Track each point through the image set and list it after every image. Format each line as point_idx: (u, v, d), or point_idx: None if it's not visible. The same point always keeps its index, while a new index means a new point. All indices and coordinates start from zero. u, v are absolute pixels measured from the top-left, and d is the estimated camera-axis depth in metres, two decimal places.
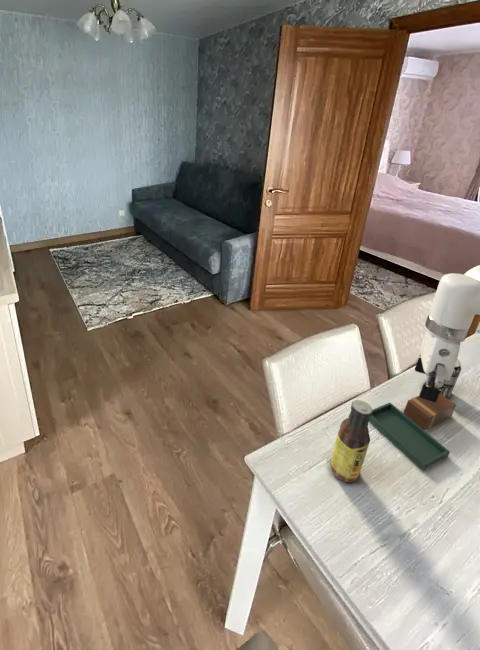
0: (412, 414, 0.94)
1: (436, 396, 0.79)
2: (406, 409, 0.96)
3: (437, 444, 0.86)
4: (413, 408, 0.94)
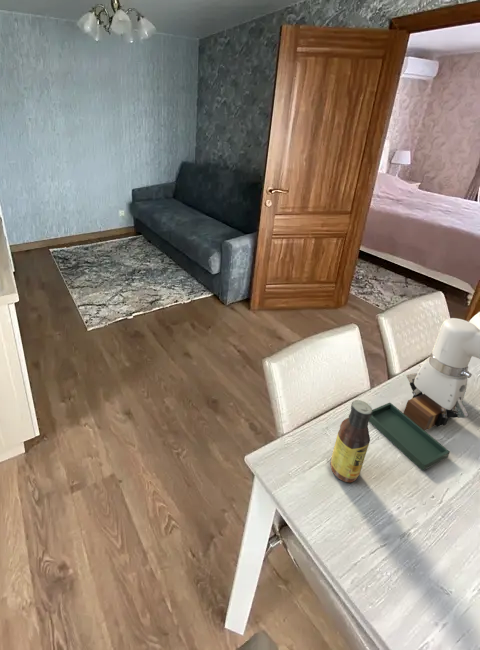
0: (412, 414, 0.94)
1: None
2: (406, 409, 0.96)
3: (437, 444, 0.86)
4: (413, 408, 0.94)
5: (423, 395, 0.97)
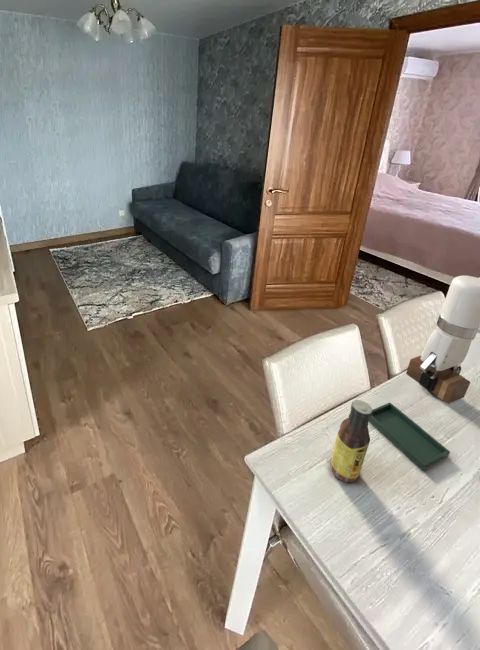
0: (456, 395, 0.84)
1: None
2: (451, 397, 0.83)
3: (437, 444, 0.86)
4: (458, 389, 0.83)
5: None
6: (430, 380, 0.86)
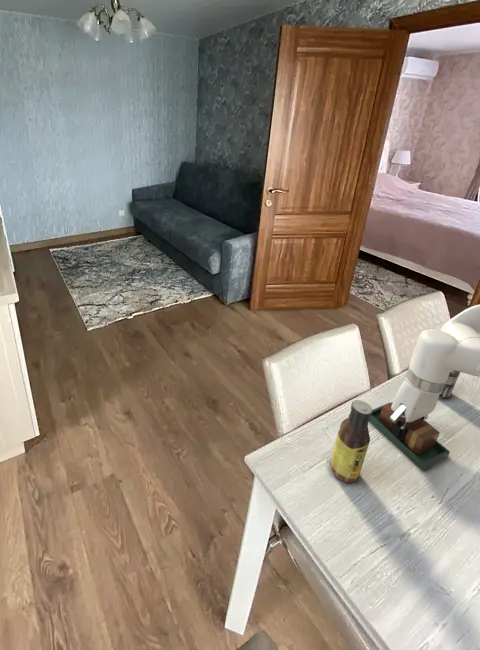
0: (426, 446, 0.84)
1: None
2: (421, 448, 0.83)
3: (437, 444, 0.86)
4: (427, 441, 0.83)
5: (401, 420, 0.87)
6: (400, 430, 0.86)
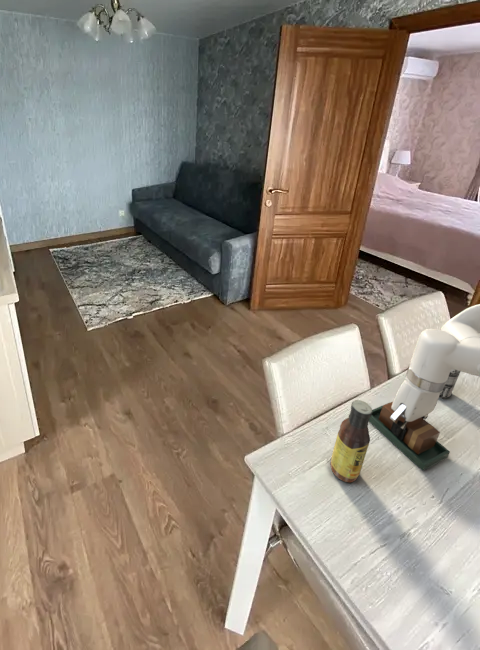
0: (426, 446, 0.84)
1: None
2: (421, 448, 0.83)
3: (437, 444, 0.86)
4: (427, 440, 0.83)
5: (401, 420, 0.87)
6: (401, 429, 0.86)
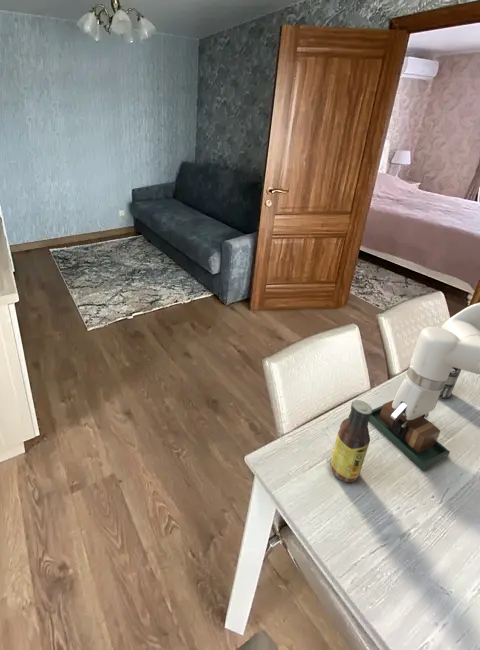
0: (426, 444, 0.84)
1: None
2: (422, 446, 0.83)
3: (437, 444, 0.86)
4: (428, 439, 0.83)
5: (402, 418, 0.87)
6: (401, 428, 0.86)
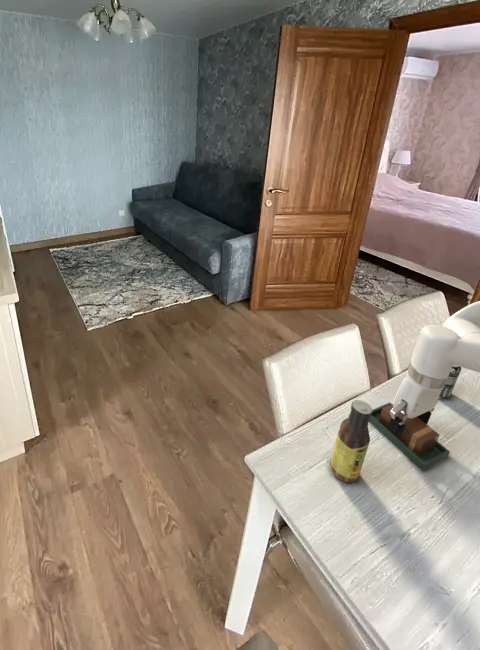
0: (425, 448, 0.84)
1: None
2: (421, 450, 0.84)
3: (437, 444, 0.86)
4: (427, 443, 0.83)
5: None
6: (399, 426, 0.85)
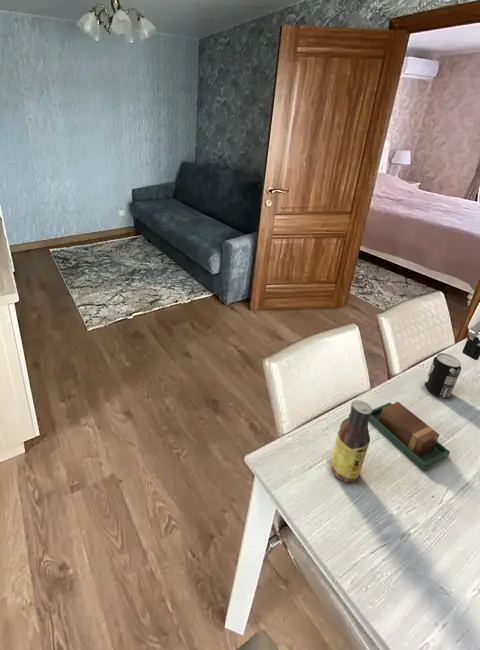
0: (425, 448, 0.84)
1: None
2: (421, 450, 0.84)
3: (437, 444, 0.86)
4: (427, 443, 0.83)
5: (401, 422, 0.87)
6: (476, 348, 0.81)
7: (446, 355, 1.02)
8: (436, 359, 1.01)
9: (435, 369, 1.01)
